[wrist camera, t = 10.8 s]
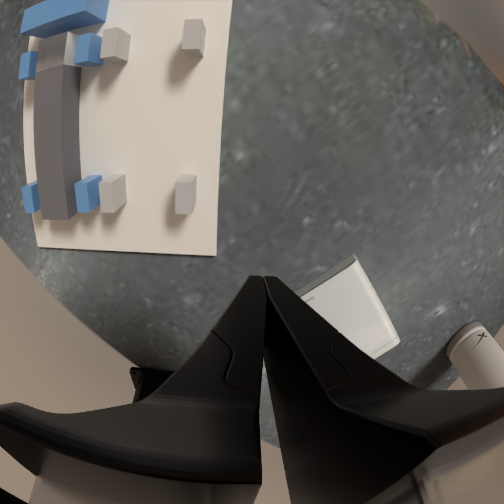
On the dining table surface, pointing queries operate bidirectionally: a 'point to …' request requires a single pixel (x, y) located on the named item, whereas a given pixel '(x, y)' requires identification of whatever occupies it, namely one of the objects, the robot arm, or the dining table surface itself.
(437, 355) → the dining table surface
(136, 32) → the board
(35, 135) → the dark grey bar
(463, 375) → the travel mug
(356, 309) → the hard drive
